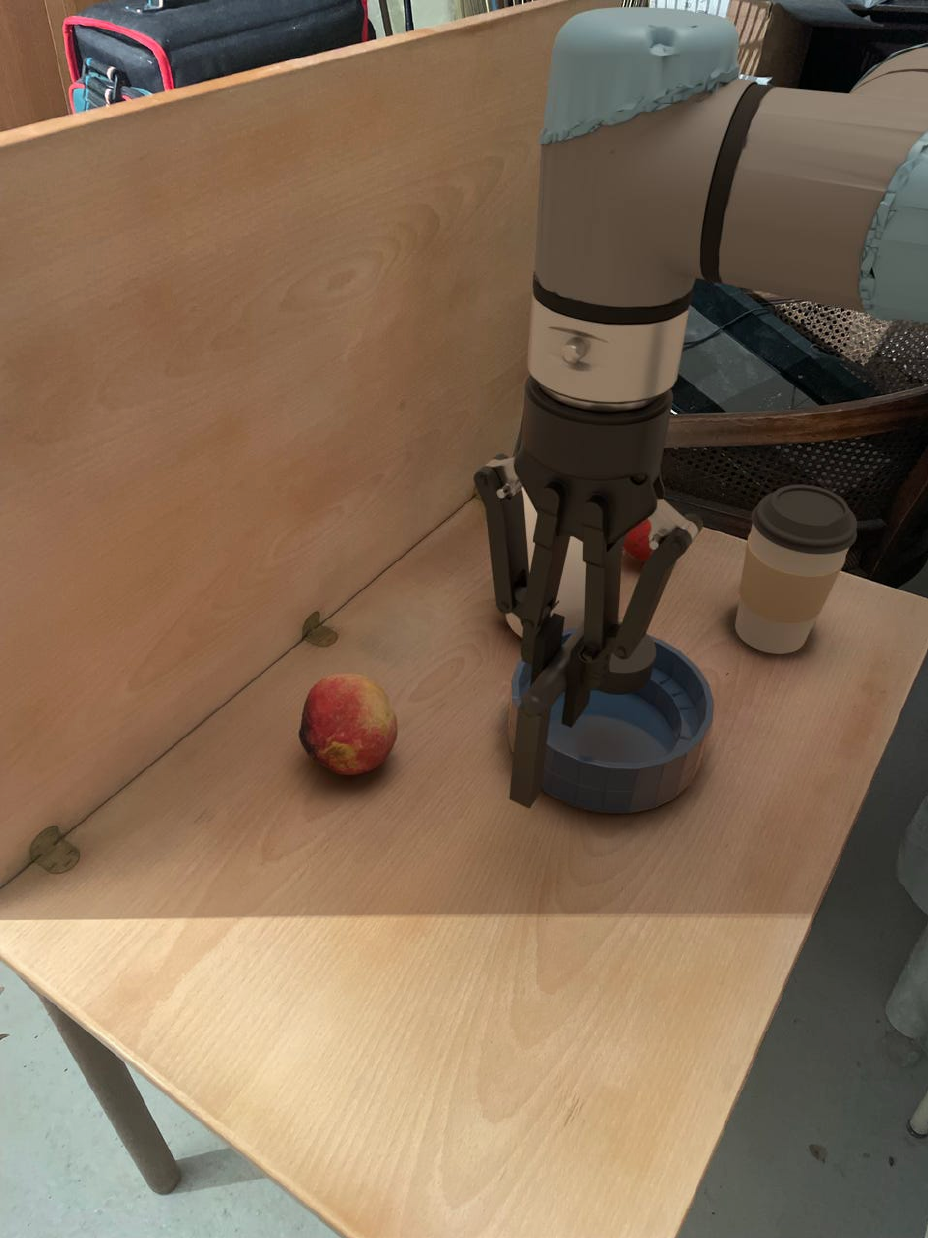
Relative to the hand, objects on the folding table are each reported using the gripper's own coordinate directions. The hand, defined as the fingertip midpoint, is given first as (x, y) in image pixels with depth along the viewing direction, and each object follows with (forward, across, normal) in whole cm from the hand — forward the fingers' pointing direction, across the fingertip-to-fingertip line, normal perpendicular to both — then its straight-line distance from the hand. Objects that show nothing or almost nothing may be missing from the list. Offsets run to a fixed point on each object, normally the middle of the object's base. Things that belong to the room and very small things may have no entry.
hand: (558, 705), depth 61 cm
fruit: (+14, -17, -2) cm, 22 cm away
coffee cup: (+14, +8, +33) cm, 37 cm away
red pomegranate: (+14, -7, +37) cm, 40 cm away
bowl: (+14, 0, +11) cm, 18 cm away
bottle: (+14, -11, +23) cm, 29 cm away
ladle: (+5, 0, +5) cm, 7 cm away
